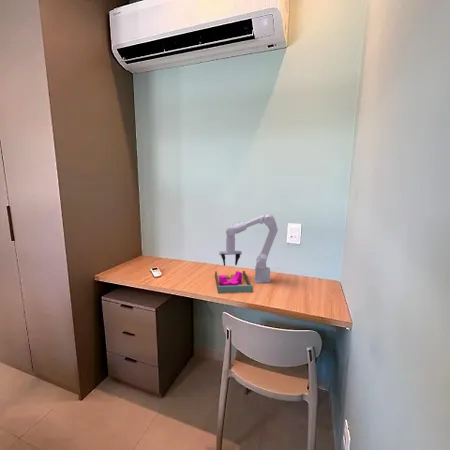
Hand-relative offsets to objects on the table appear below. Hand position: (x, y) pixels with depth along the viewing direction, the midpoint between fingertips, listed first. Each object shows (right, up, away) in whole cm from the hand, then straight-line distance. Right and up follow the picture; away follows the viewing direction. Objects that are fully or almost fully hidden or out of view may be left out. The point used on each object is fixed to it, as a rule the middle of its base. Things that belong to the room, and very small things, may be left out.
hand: (230, 265), depth 178 cm
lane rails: (+1, -11, -5) cm, 12 cm away
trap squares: (0, -9, +5) cm, 10 cm away
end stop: (+3, -13, -19) cm, 23 cm away
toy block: (+1, -12, -10) cm, 15 cm away
